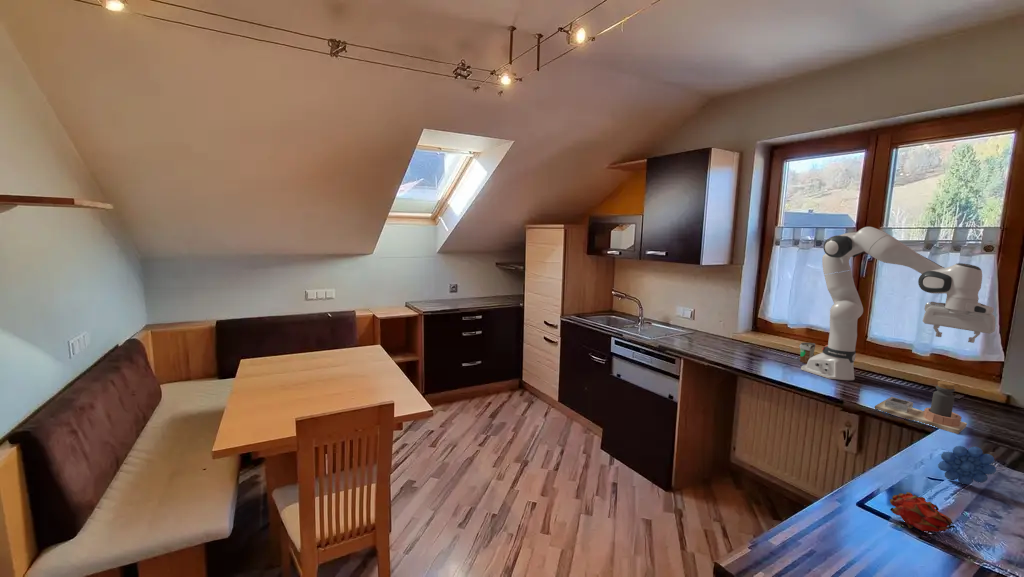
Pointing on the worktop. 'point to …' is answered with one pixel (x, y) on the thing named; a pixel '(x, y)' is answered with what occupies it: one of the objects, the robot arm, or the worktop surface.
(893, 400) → the square holder
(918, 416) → the wooden board
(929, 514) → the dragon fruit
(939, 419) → the round holder
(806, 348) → the food container
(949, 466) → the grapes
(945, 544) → the worktop surface
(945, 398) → the bottle
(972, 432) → the worktop surface
